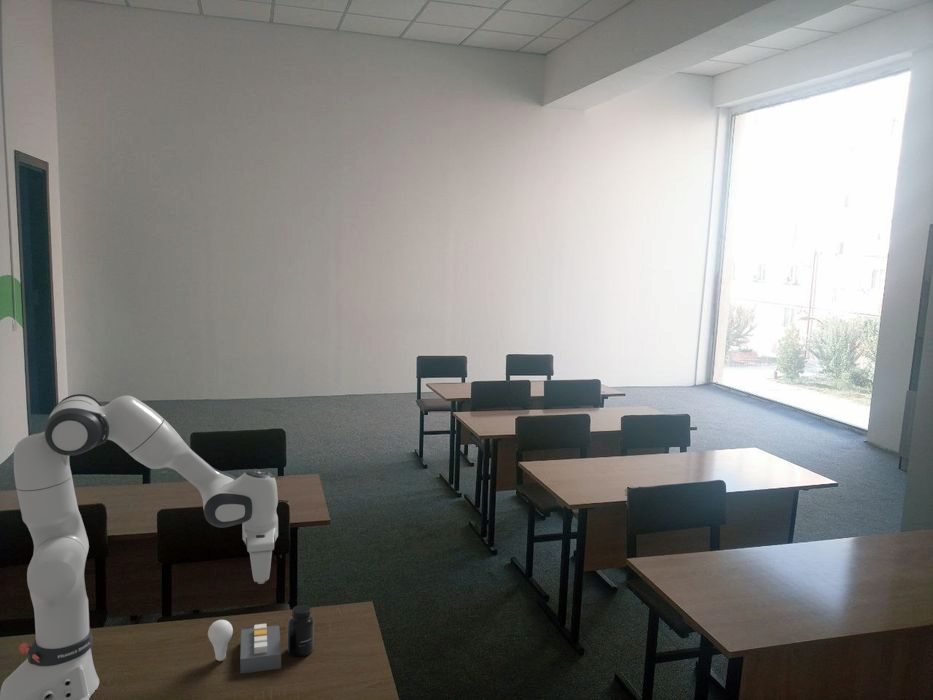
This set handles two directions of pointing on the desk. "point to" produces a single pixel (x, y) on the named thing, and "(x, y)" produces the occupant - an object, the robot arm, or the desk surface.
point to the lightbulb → (220, 637)
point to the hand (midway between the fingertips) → (261, 581)
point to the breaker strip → (260, 658)
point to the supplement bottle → (300, 631)
